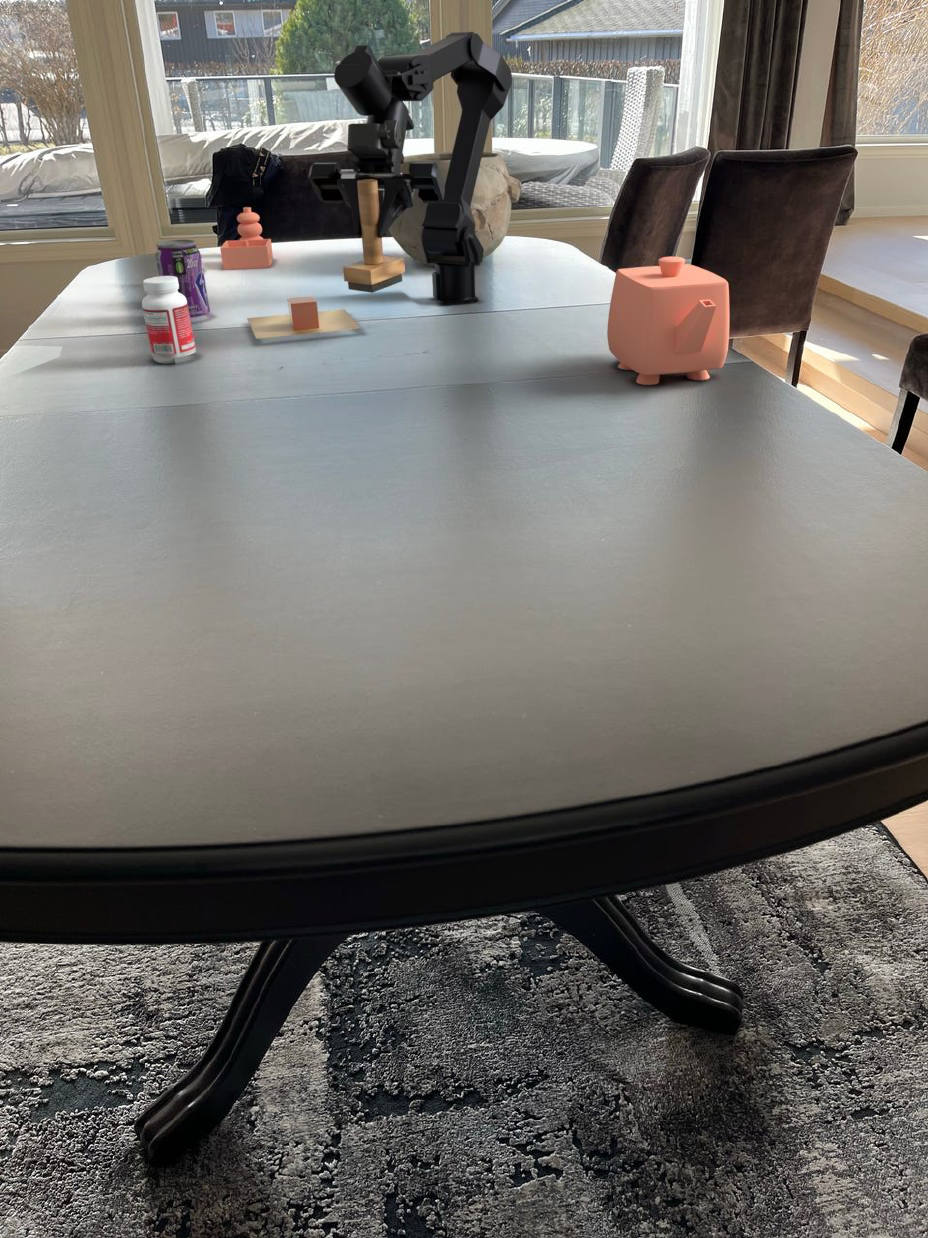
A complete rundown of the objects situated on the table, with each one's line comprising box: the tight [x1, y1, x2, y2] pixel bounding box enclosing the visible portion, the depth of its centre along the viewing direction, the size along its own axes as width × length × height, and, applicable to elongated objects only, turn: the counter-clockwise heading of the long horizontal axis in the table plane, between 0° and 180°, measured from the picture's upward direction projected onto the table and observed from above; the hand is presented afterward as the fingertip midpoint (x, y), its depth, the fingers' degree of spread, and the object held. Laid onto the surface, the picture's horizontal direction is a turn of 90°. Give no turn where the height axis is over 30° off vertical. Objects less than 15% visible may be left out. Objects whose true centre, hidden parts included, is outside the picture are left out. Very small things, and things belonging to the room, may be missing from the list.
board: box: [247, 308, 361, 340], centre depth 149 cm, size 16×14×1 cm
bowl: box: [382, 151, 522, 268], centre depth 188 cm, size 27×29×20 cm
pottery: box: [220, 206, 274, 271], centre depth 200 cm, size 18×10×10 cm, turn 5°
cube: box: [286, 295, 319, 331], centre depth 145 cm, size 4×4×4 cm
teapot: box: [606, 256, 730, 386], centre depth 120 cm, size 22×13×14 cm, turn 12°
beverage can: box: [155, 238, 211, 319], centre depth 155 cm, size 7×7×12 cm
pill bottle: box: [141, 275, 197, 365], centre depth 133 cm, size 6×6×11 cm
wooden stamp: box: [342, 179, 406, 294], centre depth 134 cm, size 8×5×14 cm, turn 147°
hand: (368, 235), depth 133 cm, fingers closed on wooden stamp, 3 cm apart
